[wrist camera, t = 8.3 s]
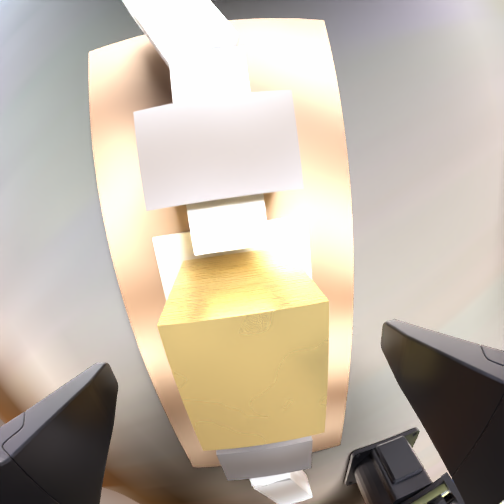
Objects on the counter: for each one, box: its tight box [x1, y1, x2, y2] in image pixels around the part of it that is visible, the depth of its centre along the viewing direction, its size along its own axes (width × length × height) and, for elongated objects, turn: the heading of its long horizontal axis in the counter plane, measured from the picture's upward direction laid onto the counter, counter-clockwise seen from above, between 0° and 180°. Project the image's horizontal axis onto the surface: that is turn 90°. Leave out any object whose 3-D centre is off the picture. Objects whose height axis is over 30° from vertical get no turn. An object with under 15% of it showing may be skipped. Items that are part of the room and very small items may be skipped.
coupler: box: [157, 246, 329, 451], centre depth 10 cm, size 4×5×5 cm
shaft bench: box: [89, 0, 354, 504], centre depth 11 cm, size 26×10×5 cm, turn 7°
